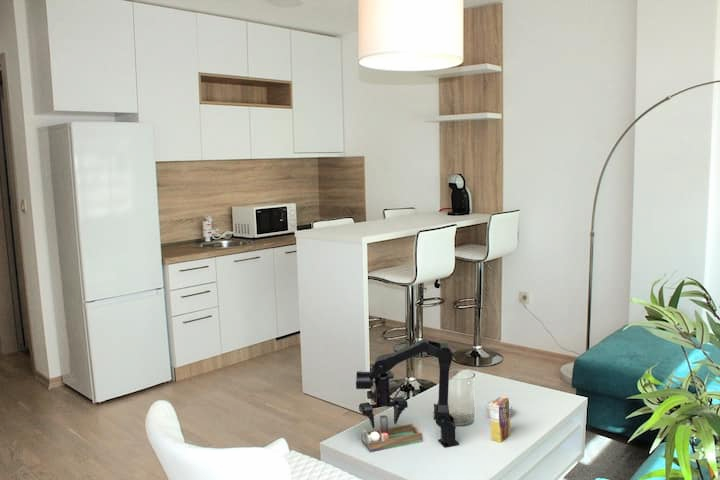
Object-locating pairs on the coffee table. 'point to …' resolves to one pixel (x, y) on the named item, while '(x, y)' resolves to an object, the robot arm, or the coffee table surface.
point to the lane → (392, 437)
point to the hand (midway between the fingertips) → (384, 426)
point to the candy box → (500, 419)
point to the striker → (383, 426)
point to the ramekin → (489, 408)
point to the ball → (374, 436)
